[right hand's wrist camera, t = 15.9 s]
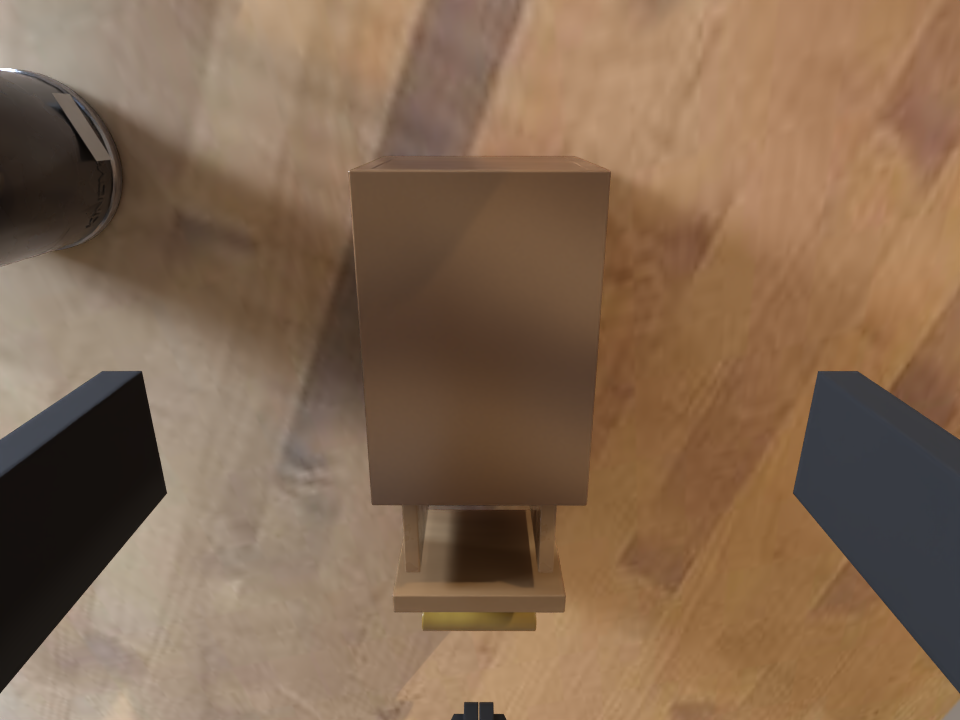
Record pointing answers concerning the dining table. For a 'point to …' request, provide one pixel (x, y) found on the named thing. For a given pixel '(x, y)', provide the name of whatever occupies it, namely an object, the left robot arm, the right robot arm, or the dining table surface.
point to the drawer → (479, 568)
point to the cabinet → (479, 325)
